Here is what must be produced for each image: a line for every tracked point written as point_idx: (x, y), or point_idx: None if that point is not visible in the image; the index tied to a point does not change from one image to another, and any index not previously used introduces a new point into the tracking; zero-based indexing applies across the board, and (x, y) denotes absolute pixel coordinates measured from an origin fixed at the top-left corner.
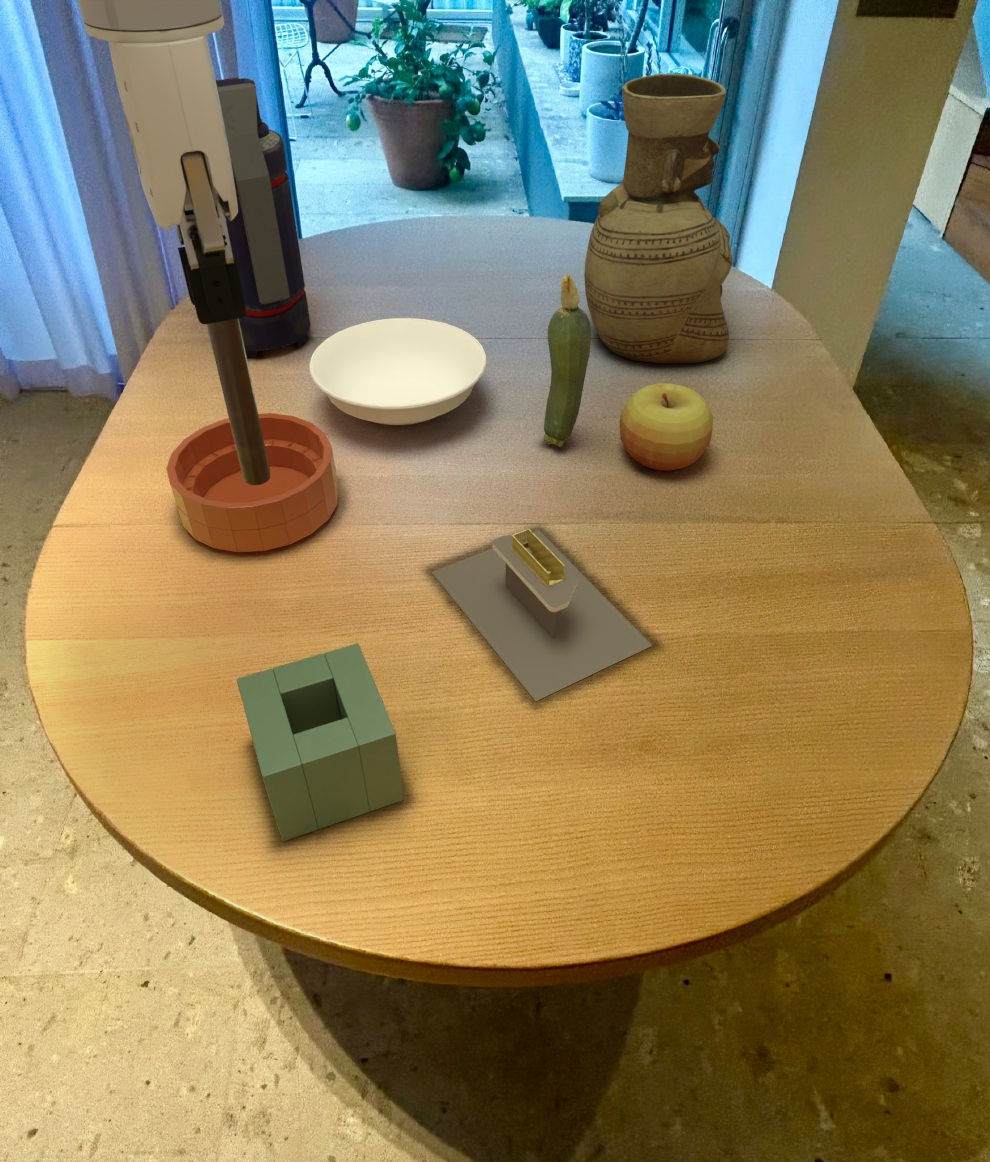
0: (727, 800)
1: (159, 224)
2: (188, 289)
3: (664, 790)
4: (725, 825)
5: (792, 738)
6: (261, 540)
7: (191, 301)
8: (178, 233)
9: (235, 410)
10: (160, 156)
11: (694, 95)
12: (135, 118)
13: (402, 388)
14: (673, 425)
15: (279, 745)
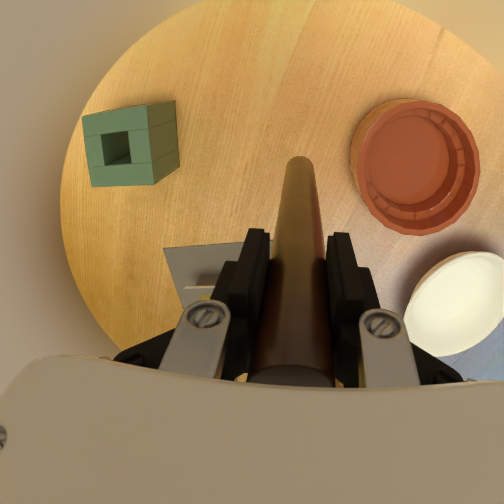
0: (106, 287)
1: (36, 360)
2: (338, 245)
3: (111, 271)
4: (97, 280)
5: (128, 320)
6: (352, 145)
7: (336, 233)
8: (362, 336)
9: (284, 188)
10: None
11: None
12: None
13: (462, 294)
14: None
15: (95, 126)
